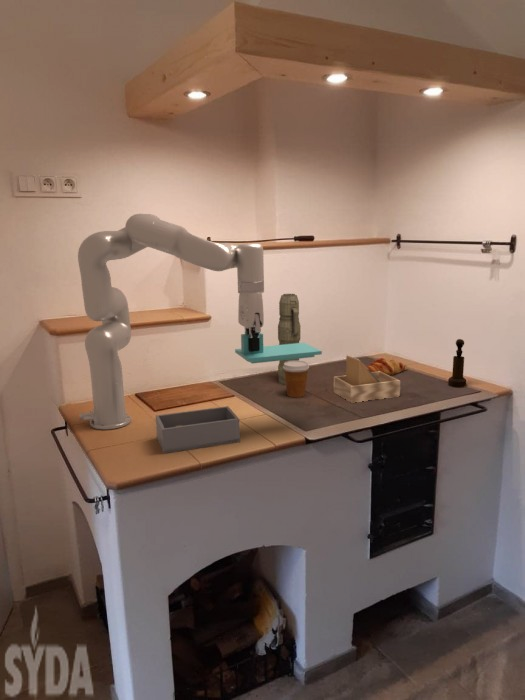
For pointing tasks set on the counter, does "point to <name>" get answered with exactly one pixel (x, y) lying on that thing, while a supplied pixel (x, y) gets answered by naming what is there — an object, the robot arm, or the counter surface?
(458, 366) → the dark brown tall piece
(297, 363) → the disposable coffee cup
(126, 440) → the counter surface
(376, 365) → the croissant
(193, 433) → the tub
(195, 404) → the counter surface
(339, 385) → the open rectangular storage box
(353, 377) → the sandwich container
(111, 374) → the robot arm
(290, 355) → the lid
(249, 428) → the counter surface
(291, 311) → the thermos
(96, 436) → the counter surface
